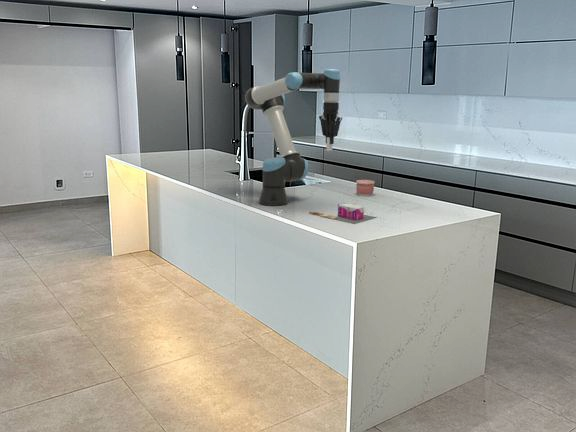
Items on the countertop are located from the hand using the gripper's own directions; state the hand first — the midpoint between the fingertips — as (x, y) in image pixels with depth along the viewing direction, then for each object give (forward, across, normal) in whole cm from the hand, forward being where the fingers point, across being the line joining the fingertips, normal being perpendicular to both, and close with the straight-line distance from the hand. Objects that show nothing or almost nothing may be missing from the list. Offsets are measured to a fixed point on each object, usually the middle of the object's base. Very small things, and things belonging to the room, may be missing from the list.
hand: (329, 150), depth 274 cm
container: (+30, -8, +45) cm, 55 cm away
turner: (+29, +10, -16) cm, 34 cm away
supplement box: (+26, +14, -8) cm, 31 cm away
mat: (+29, +22, -8) cm, 38 cm away
